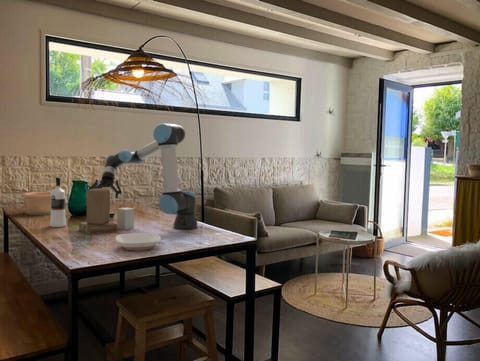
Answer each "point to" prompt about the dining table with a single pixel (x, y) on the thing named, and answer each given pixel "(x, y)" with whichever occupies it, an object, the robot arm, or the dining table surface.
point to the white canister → (125, 218)
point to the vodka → (58, 206)
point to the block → (98, 206)
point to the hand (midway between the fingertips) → (102, 201)
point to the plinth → (97, 228)
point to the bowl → (138, 240)
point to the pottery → (38, 203)
